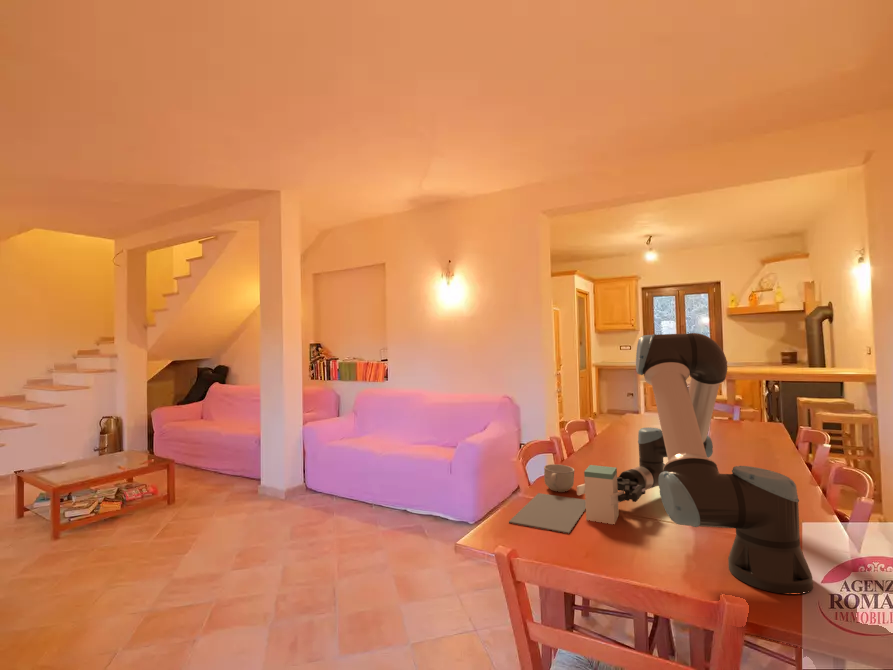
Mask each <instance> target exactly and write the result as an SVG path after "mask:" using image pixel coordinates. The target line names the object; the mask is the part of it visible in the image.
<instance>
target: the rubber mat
mask: <svg viewBox="0 0 893 670" xmlns="http://www.w3.org/2000/svg"><path fill="white" fill-rule="evenodd" d="M585 509H586V502H585V498H584V499H583V498H575V497H568V496H560V495H554V494H548V493H547V494H546V493H540V492H537V494H536V495H535V496H534V497H532V499H530V501H529V502H527V503H526V504H525V505H524V506H523V507H522V508H521V509H519V511H518V512H517V513H516V514H515V515H514V516H513V517H512V518H511V519H510V520H508V524H511V523H513V524H512V525H516V524H518V526H522V525H523V527H527V526H529V527H528V528H533V527H535V528H534V529H538V528H541V529H540V530H544V529H547V530H546V531H549V530H552V531H551V532H555V531H558V532H557V533H560V532H563V533H562V534H566V533H568V534H567V535H570V534H571V533H572V531H573V529H574V528H575V527H576V525H577V524H578V522H579V521H580V519H581V517H582V516H583V514H584V513H583V512H586V510H585ZM581 515H582V516H581ZM579 518H580V519H579ZM577 521H578V522H577ZM575 524H576V525H575ZM573 527H574V528H573ZM571 530H572V531H571ZM569 533H570V534H569Z"/></svg>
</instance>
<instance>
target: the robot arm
mask: <svg viewBox="0 0 893 670" xmlns="http://www.w3.org/2000/svg"><path fill="white" fill-rule="evenodd" d="M635 372H636V374H638V375H641V376H644V380H645V382H646V384H648V385H650V386H651V387H652V391H653V395H654V400H655V405H656V411H657V414H658V418H659V419H658V420H659V424H660V428H658V427H642V428H640V429H639V430H638V434H637V435H638V437H637V438H638V441H637V443H638V458H639V459H638V460H639V462H638V463H639V465H638V466H636V467H632V468H630V469H627V470H624V471H622V472H621V473H620V474H619V475H618V476H617V486H618V492H617V493H614V494H611V495H609V505H614V504H617V503H618V504H620V503H622V502H625V501H627V502H629V501H630V500H631V501H632V502H633V503H636V502H637V501H638V500H639V499H640V498H641V496H642V495H645V494H646V491H647V490H650V489H653V488H656V487H658V488H659V495H660V499H661V503H662V505H663V508H664V510H665V512H666V514H667V516H668V517H669V519H670V520H671V521H672V522H673V523H675V524H676V525H679V526H689V527H692V528H699V527H702V528H703V527H704V528H720V529H735V538H734V540H733V543H732V546H731V548H730V551H729V555H728V559H727V560H728V562H727V563H728V570H729V572H730V573H731V575H732V576H733V577H735V578H737V580H740V581H741V582H743V583H745V584H746V585H749V586H751V587H754V588H757V589H760V590H763V591H767V592H769V593H775V594H780V593H803V592H807V593H809V592H811V591H812V590H813V588H814V583H813V575H812V572H811V569H810V567H809V565H808V563H807V560H806V558H805V555H804V553H803V550H802V548H801V539H800V535H801V533H800V531H801V530H800V510H799V502H800V500H799V497H798V496H799V495H798V489H797V484H796V483H795V481H794V480H793V479H791V478H790V477H789V476H787V475H785V474H782V473H781V472H776V471H773V470H771V469H766V468H761V467H754V466H748V465H735V466H733V468H732V469H731V473H720V471H719V469H718V465H717V463H716V462H715V461H713V460H712V459H711V457H712V455H713V453H714V449H713V441H712V439H711V437H710V436H709V435H708V433H709V430H710V425H711V421H712V417H713V413H714V409H715V405H716V400H717V398H718V394H719V389H720V384H722V383H724V382H725V380H726V377H727V372H728V361H727V356H726V355H725V352H724V351H723V348H722V347H721V346H720V345H719V344H718V343H717V342H716V341H715V340H714V339H712V338H711V337H709V336H707V335H706V334H702V333H699V332H698V333H697V332H693V333H692V332H690V333H668V334H667V333H662V334H661V333H660V334H655V333H653V334H646V335H642V336H640V337H639V339H638V341H637V345H636V354H635ZM689 377H690V382H689V386H688V384H687V380H688V378H689ZM664 458H667V462H666V463H665V462H664ZM576 495H577V496H581V495H585V479H584V483H582V484H579V485H576ZM810 590H811V591H810ZM808 591H809V592H808Z"/></svg>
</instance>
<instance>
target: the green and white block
mask: <svg viewBox="0 0 893 670" xmlns="http://www.w3.org/2000/svg"><path fill="white" fill-rule="evenodd" d="M617 469H618V468H617V467H615V466H614V467H613V466H606V465H605V466H603V465H595V464H589V465H588V467H586V469H585V470H584V472H583V474H584V475H583V476H584V477H583V478H584V480H585V482H584V484H585V494H584V496H585V498H584V500H585V502H586V510H585V520H586V521H589V520H590V522H595V521H596V522H597V523H601V522H602V524H607V523H608V525H613V524H614V525H616V523H617V521H618V517H619V514H620V512H619V511H620V510H619V508H620V507H619V503H617V504H614V505H609V495H611V494H614V493H617V492H619V490H618V486H617V477H618V470H617Z"/></svg>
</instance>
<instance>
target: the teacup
mask: <svg viewBox="0 0 893 670" xmlns="http://www.w3.org/2000/svg"><path fill="white" fill-rule="evenodd" d="M543 470H544V472H543V474H544V476H543V477H544V484H545V485H546V487H548V489H549V490H551V491H554V492H557V491H558V492H559V493H566V492H568V491H570V490H571V489H572V488H573V486H574V483H575V472H576V471H575V469H574V467H572V466H569V465H564V464H554V463H552V464H546V465H544V466H543ZM565 491H566V492H565Z"/></svg>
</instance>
